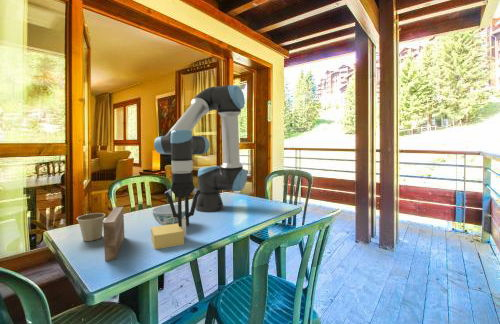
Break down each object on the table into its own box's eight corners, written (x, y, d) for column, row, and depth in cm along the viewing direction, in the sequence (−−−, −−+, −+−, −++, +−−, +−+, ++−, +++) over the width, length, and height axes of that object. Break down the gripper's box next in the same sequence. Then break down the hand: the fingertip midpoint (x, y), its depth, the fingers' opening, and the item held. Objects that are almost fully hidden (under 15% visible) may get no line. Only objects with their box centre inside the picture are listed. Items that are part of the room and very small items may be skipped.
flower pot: (75, 244, 94) (73, 221, 93) (80, 236, 102) (79, 214, 101) (105, 240, 97) (104, 218, 97) (107, 232, 106) (106, 211, 105)
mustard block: (178, 235, 103) (178, 223, 102) (184, 244, 94) (183, 231, 93) (151, 240, 98) (151, 227, 98) (154, 249, 89) (154, 235, 89)
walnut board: (124, 237, 101) (123, 206, 100) (115, 259, 82) (114, 221, 81) (115, 238, 100) (114, 207, 99) (105, 260, 81) (103, 222, 80)
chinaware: (185, 231, 107) (185, 213, 106) (148, 232, 106) (147, 214, 105) (191, 220, 122) (190, 204, 121) (158, 221, 121) (157, 205, 120)
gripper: (198, 170, 102) (200, 229, 103) (163, 171, 97) (165, 233, 99) (201, 172, 94) (203, 235, 96) (163, 173, 90) (165, 240, 92)
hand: (183, 234), depth 98 cm, fingers closed
